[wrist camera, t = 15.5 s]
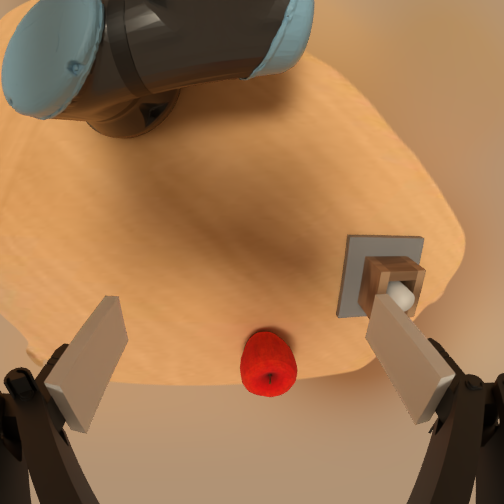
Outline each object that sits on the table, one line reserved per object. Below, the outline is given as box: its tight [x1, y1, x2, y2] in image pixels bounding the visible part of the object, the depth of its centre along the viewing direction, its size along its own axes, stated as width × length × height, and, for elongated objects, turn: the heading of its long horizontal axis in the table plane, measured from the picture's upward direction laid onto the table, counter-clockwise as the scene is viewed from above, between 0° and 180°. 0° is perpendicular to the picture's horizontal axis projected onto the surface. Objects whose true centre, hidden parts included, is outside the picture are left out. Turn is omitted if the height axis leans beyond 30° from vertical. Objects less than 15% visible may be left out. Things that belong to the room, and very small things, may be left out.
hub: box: [357, 256, 426, 319], centre depth 42 cm, size 8×8×6 cm
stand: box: [336, 235, 424, 318], centre depth 42 cm, size 14×14×9 cm
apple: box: [240, 332, 297, 397], centre depth 44 cm, size 9×9×11 cm
